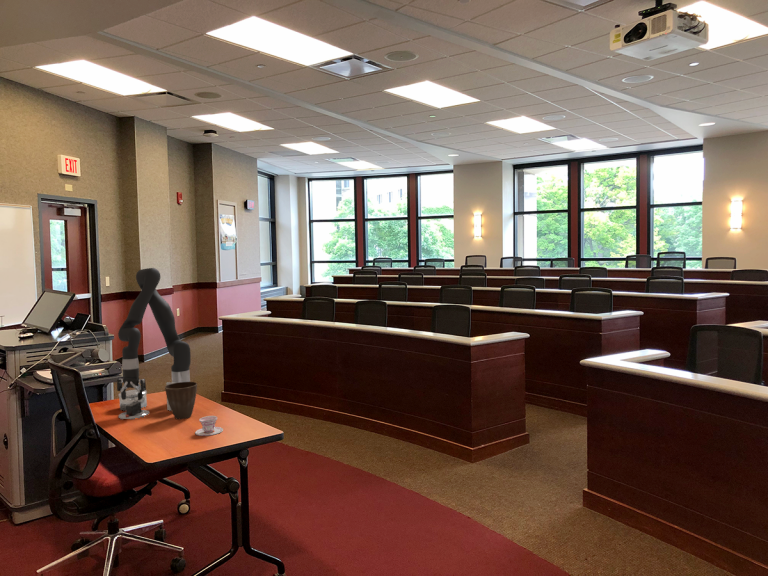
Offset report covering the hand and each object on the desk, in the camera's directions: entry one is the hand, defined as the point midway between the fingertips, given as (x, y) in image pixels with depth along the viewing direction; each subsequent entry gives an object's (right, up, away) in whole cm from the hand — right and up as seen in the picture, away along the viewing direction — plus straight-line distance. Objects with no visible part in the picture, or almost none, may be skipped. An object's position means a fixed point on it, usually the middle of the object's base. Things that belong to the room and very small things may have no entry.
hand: (131, 399), depth 286 cm
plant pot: (+27, -8, -5) cm, 29 cm away
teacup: (+48, -9, -30) cm, 57 cm away
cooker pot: (-6, -7, +16) cm, 18 cm away
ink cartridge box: (+19, -7, +9) cm, 22 cm away
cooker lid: (+1, -8, +1) cm, 8 cm away
